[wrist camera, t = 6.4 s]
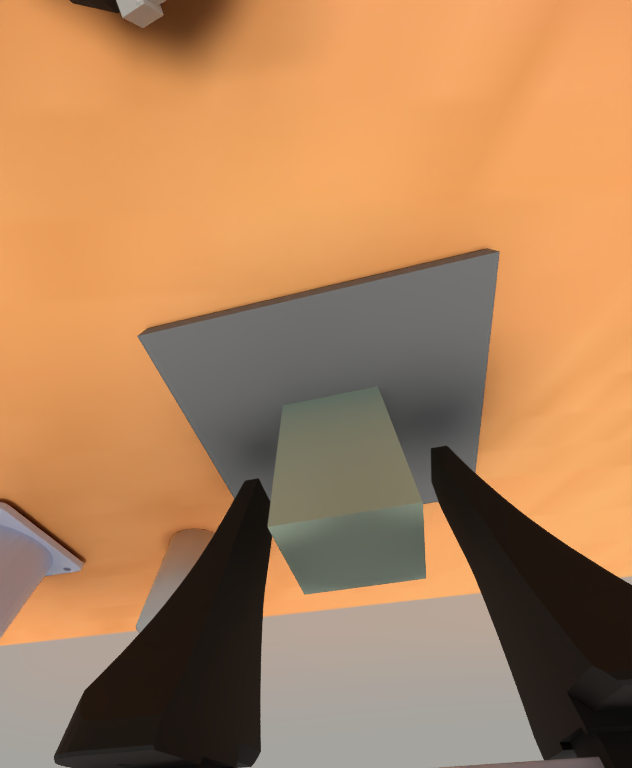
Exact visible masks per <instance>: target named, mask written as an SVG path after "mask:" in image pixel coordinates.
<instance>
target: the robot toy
mask: <svg viewBox="0 0 632 768" xmlns="http://www.w3.org/2000/svg"><path fill="white" fill-rule="evenodd" d="M70 1H71V2H72V3H75V4H79V5H84V6H88V7H92V8H97V9H101V10H106V11H110V12H115V13H119V12H121V15H122V18H124V19H126V20H128V21H130V22H132V23H134V24H135V25H137V26H139V27H141V28H144V27H146V26H147V25H149V24H151V23H152V22H154V21H156V20H157V19H159V18H160V17H162V16H164V15H163V11H162V8H161V5H160V4H162V3H163V2H165V1H166V0H70Z"/></svg>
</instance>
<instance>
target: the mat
mask: <svg viewBox="0 0 632 768" xmlns="http://www.w3.org/2000/svg"><path fill="white" fill-rule="evenodd" d="M498 261H499V251H495V250H491V249H484V250H480V251H475V252H471V253H467V254H463V255H458V256H454V257H450V258H446V259H441V260H437V261H433V262H429V263H424V264H420V265H416V266H412V267H407V268H403V269H399V270H395V271H390V272H386V273H382V274H377V275H373V276H369V277H365V278H360V279H356V280H352V281H348V282H343V283H339V284H335V285H331V286H326V287H322V288H318V289H314V290H309V291H305V292H301V293H297V294H292V295H288V296H284V297H280V298H275V299H271V300H267V301H263V302H258V303H254V304H250V305H246V306H241V307H237V308H233V309H229V310H224V311H220V312H216V313H212V314H207V315H203V316H199V317H195V318H190V319H186V320H182V321H178V322H173V323H169V324H165V325H161V326H156V327H152V328H148V329H146V330H145V331H143V332H142V333H141V334H139V335H138V338H139V340H140V341H141V343H142V345H143V346H144V348H145V350H146V351H147V353H148V355H149V356H150V358H151V360H152V361H153V363H154V365H155V366H156V368H157V370H158V371H159V373H160V375H161V376H162V378H163V380H164V381H165V383H166V385H167V387H168V388H169V390H170V392H171V393H172V395H173V397H174V398H175V400H176V402H177V403H178V405H179V407H180V408H181V410H182V412H183V413H184V415H185V417H186V418H187V420H188V422H189V423H190V425H191V427H192V428H193V430H194V432H195V433H196V435H197V437H198V438H199V440H200V442H201V443H202V445H203V447H204V448H205V450H206V452H207V453H208V455H209V457H210V458H211V460H212V462H213V464H214V465H215V467H216V469H217V470H218V472H219V474H220V475H221V477H222V479H223V480H224V482H225V484H226V485H227V487H228V489H229V490H230V492H231V494H232V495H233V497H234V499H235V497H236V496H237V494H238V492H239V490H240V488H241V486H242V484H243V483H244V481H245V480H251V479H257V478H259V480H260V482H261V484H262V486H263V488H264V490H265V492H266V494H267V496H268V498H269V500H270V502H271V495H272V487H273V479H274V471H275V463H276V455H277V447H278V439H279V431H280V423H281V415H282V407H283V405H287V404H292V403H297V402H302V401H307V400H312V399H317V398H322V397H327V396H332V395H337V394H342V393H347V392H352V391H357V390H362V389H367V388H372V387H377V386H378V388H379V391H380V393H381V396H382V398H383V401H384V404H385V406H386V409H387V411H388V414H389V416H390V419H391V422H392V424H393V427H394V429H395V432H396V435H397V437H398V440H399V442H400V445H401V448H402V450H403V453H404V455H405V458H406V460H407V463H408V466H409V468H410V471H411V473H412V476H413V479H414V481H415V484H416V486H417V489H418V492H419V494H420V497H421V499H422V502H423V504H426V503H433V502H439V501H438V499H437V496H436V493H435V490H434V488H433V485H432V482H431V448H435V447H441V446H448V447H449V448H450V449H451V450H452V451H453V452H454V453H455V454H456V455H457V456H458V457H459V458H460V459H461V460H462V461H463V462H464V463H465V464H466V465H467V466H468V467H469V468H471V469H472V470H473V471H474V472H475V471H476V461H477V452H478V443H479V434H480V425H481V416H482V407H483V398H484V389H485V380H486V371H487V361H488V352H489V343H490V334H491V325H492V316H493V307H494V298H495V289H496V280H497V270H498Z"/></svg>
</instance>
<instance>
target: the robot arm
mask: <svg viewBox="0 0 632 768" xmlns="http://www.w3.org/2000/svg"><path fill="white" fill-rule="evenodd" d="M431 482H432V485H433V488H434V490H435V493H436V496H437V499H438V501H439V504H440V506H441V509H442V511H443V513H444V515H445V517H446V519H447V521H448V523H449V525H450V527H451V529H452V531H453V533H454V535H455V537H456V539H457V541H458V543H459V545H460V547H461V549H462V551H463V553H464V555H465V557H466V559H467V561H468V563H469V565H470V567H471V569H472V572H473V574H474V576H475V578H476V581H477V583H478V586H479V588H480V591H481V593H482V596H483V598H484V601H485V603H486V606H487V609H488V611H489V614H490V616H491V619H492V621H493V624H494V627H495V629H496V632H497V635H498V637H499V640H500V642H501V645H502V648H503V651H504V653H505V656H506V659H507V661H508V664H509V667H510V670H511V672H512V675H513V678H514V681H515V683H516V686H517V689H518V692H519V695H520V697H521V700H522V703H523V706H524V709H525V712H526V715H527V717H528V720H529V723H530V726H531V729H532V732H533V735H534V738H535V740H536V742H537V745H538V747H539V749H540V752H541V754H542V757H543V759H544V760H543V761H529V762H514V763H499V764H485V765H470V766H455V767H441V768H632V585H631V584H629V583H627V582H625V581H624V580H622V579H620V578H619V577H617V576H615V575H614V574H612V573H610V572H609V571H607V570H606V569H604V568H602V567H601V566H599V565H598V564H596V563H594V562H593V561H591V560H590V559H588V558H587V557H585V556H583V555H582V554H580V553H579V552H577V551H575V550H574V549H572V548H571V547H569V546H568V545H566V544H565V543H563V542H562V541H560V540H559V539H558V538H556V537H555V536H553V535H552V534H550V533H549V532H547V531H546V530H545V529H543V528H542V527H540V526H539V525H538V524H536V523H535V522H534V521H532V520H531V519H530V518H528V517H527V516H526V515H524V514H523V513H522V512H520V511H519V510H518V509H517V508H515V507H514V506H513V505H512V504H510V503H509V502H508V501H507V500H506V499H504V498H503V497H502V496H501V495H500V494H498V493H497V492H496V491H495V490H494V489H493V488H491V487H490V486H489V485H488V484H487V483H486V482H485V481H484V480H482V479H481V478H480V477H479V476H478V475H477V474H476V473H475V472H474V471H473V470H472V469H471V468H469V467H468V466H467V465H466V464H465V463H464V462H463V461H462V460H461V459H460V458H459V457H458V456H457V455H456V454H455V453H454V452H453V451H452V450H451V449H450V448H449V447H448V446H441V447H435V448H431ZM270 503H271V502H270V500H269V498H268V496H267V494H266V492H265V490H264V488H263V486H262V484H261V482H260V480H259V478H257V479H251V480H245V481H244V483H243V484H242V486H241V488H240V490H239V492H238V494H237V496H236V497H235V499H234V501H233V503H232V505H231V506H230V508H229V510H228V512H227V514H226V515H225V517H224V519H223V520H222V522H221V524H220V526H219V527H218V529H217V531H216V532H215V534H214V536H213V537H212V539H211V540H210V542H209V543H208V545H207V547H206V548H205V550H204V551H203V553H202V554H201V556H200V557H199V559H198V560H197V562H196V563H195V565H194V566H193V567H192V569H191V570H190V572H189V573H188V574H187V576H186V577H185V579H184V580H183V581H182V583H181V584H180V585H179V587H178V588H177V589H176V590H175V592H174V593H173V594H172V595H171V597H170V598H169V599H168V601H167V602H166V603H165V604H164V606H163V607H162V608H161V609H160V610H159V612H158V613H157V614H156V615H155V616H154V618H153V619H152V620H151V621H150V622H149V623H148V624H147V625H146V627H145V628H144V629H143V630H142V631H141V632H140V634H139V635H138V636H137V637H136V638H135V639H134V640H133V642H131V644H130V645H129V646H128V647H127V648H126V649H125V650H124V651H123V652H122V653H121V655H119V656H118V657H117V658H116V659H115V661H113V662H112V663H111V664H110V666H108V668H107V669H106V670H105V671H104V672H103V673H102V674H101V675H100V676H99V677H98V678H97V679H96V680H95V681H94V682H93V683H92V684H91V685H90V686H89V687H88V688H87V689H86V690H85V691H84V693H83V695H82V697H81V699H80V701H79V703H78V705H77V707H76V710H75V712H74V714H73V716H72V718H71V721H70V723H69V725H68V727H67V729H66V731H65V734H64V736H63V738H62V740H61V742H60V745H59V747H58V749H57V751H56V753H55V755H54V760H55V763H56V764H58V765H61V766H66V767H71V768H239V767H240V768H241V767H251V766H252V765H253V764H254V763H255V761H256V759H257V758H258V756H259V754H260V752H261V741H260V739H261V738H260V681H261V678H260V677H261V643H262V620H263V602H264V592H265V585H266V577H267V570H268V563H269V556H270V548H271V541H272V534H271V533H270V531H269V529H268V519H269V511H270ZM83 565H84V563H83V562H82V561H81V560H79V559H78V558H77V557H75V556H74V555H73V554H72V553H70V552H69V551H68V550H66V549H65V548H64V547H62V546H61V545H60V544H59V543H57V542H56V541H55V540H53V539H52V538H51V537H50V536H48V535H47V534H46V533H44V532H43V531H42V530H41V529H39V528H38V527H37V526H35V525H34V524H33V523H31V522H30V521H29V520H28V519H26V518H25V517H24V516H22V515H21V514H20V513H19V512H17V511H16V510H15V509H13V508H12V507H11V506H9V505H8V504H6V503H2V502H0V638H1V637H2V635H3V634H4V633H5V631H6V630H7V628H8V627H9V625H10V624H11V623H12V621H13V620H14V618H15V617H16V616H17V614H18V613H19V611H20V610H21V609H22V607H23V606H24V604H25V603H26V601H27V600H28V599H29V597H30V596H31V594H32V593H33V592H34V590H35V589H36V587H37V586H38V585H39V583H40V582H41V580H42V579H43V577H44V576H49V575H56V574H63V573H69V572H76V571H80V570H81V569H82V567H83Z"/></svg>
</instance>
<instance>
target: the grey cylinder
mask: <svg viewBox="0 0 632 768" xmlns="http://www.w3.org/2000/svg"><path fill="white" fill-rule="evenodd" d="M214 534H215V533H214V532H211V531H208V530H203V529H186V530H182V531H180V532H177V533H176V534H175V535H173V537H172V539H171V541H170V543H169V546H168V548H167V551H166V553H165V556H164V558H163V561H162V563H161V566H160V568H159V570H158V573H157V575H156V578H155V580H154V583H153V585H152V588H151V590H150V593H149V595H148V597H147V600H146V602H145V605H144V607H143V610H142V612H141V615H140V617H139V620H138V622H137V624H136V629H137V631H138V632H139V633H140V632H141V631H142V630H143V629H144V628H145V627H146V625H147V624H148V623H149V622H150V621H151V620H152V619H153V618H154V616H155V615H156V614H157V613H158V612H159V610H160V609H161V608H162V607H163V606H164V604H165V603H166V602H167V601H168V599H169V598H170V597H171V595H172V594H173V593H174V592H175V590H176V589H177V588H178V587H179V585H180V584H181V583H182V581H183V580H184V579H185V577H186V576H187V574H188V573H189V572H190V570H191V569H192V567H193V566H194V565H195V563H196V562H197V560H198V559H199V557H200V556H201V554H202V553H203V551H204V550H205V548H206V547H207V545H208V543H209V542H210V540H211V539H212V537H213V536H214Z"/></svg>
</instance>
